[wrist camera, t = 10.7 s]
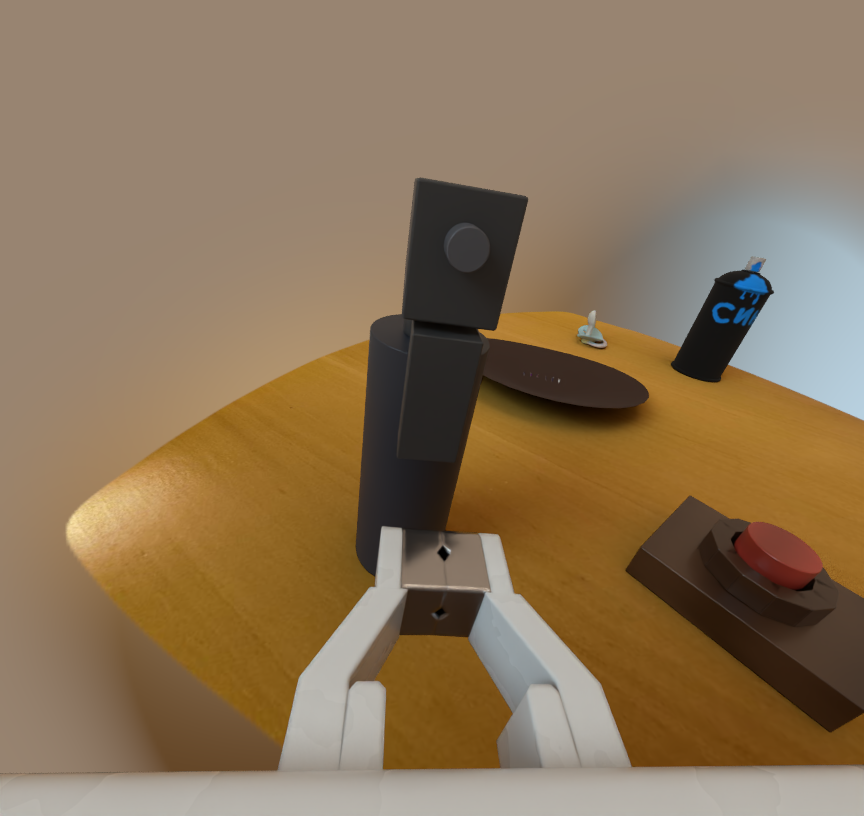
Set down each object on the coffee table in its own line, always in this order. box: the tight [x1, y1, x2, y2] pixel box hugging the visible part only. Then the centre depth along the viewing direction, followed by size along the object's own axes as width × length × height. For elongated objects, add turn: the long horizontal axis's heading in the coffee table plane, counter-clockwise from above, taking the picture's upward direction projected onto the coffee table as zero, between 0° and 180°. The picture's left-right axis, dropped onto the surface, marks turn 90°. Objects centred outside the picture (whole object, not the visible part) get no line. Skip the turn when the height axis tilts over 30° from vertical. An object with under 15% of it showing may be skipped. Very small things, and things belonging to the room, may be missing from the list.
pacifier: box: [577, 310, 607, 348], centre depth 73 cm, size 7×6×6 cm
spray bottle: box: [356, 178, 528, 577], centre depth 20 cm, size 10×6×22 cm, turn 3°
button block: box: [626, 496, 864, 732], centre depth 26 cm, size 12×10×4 cm
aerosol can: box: [671, 257, 774, 382], centre depth 64 cm, size 8×8×20 cm
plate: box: [483, 338, 649, 408], centre depth 55 cm, size 28×28×4 cm
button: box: [734, 522, 823, 590], centre depth 25 cm, size 4×4×2 cm
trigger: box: [397, 320, 484, 463], centre depth 14 cm, size 2×2×5 cm
